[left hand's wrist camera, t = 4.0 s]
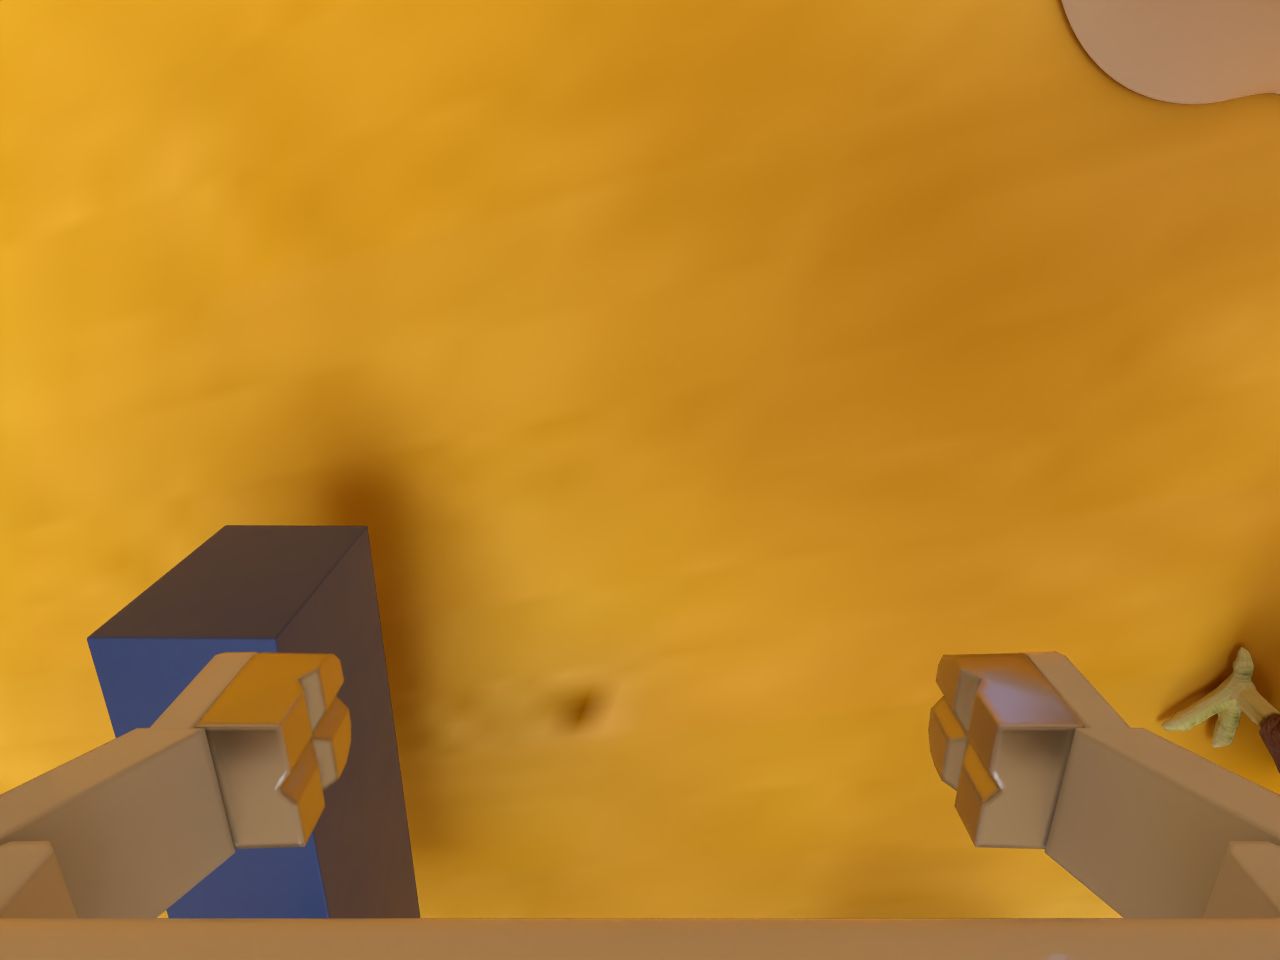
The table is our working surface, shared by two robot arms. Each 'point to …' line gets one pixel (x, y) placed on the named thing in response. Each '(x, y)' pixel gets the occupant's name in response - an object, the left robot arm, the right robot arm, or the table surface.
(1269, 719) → the figurine
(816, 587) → the table surface
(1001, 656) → the left robot arm
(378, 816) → the bar
